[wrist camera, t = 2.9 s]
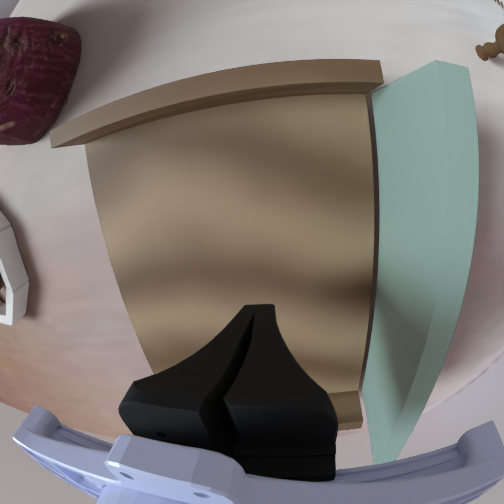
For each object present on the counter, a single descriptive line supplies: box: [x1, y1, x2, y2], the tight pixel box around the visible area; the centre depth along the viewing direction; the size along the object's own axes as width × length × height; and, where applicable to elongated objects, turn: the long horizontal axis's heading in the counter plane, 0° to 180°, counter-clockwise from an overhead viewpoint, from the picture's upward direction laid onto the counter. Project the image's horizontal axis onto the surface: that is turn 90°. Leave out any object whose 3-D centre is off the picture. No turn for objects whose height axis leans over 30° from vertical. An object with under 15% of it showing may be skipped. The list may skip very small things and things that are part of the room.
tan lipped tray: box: [50, 59, 384, 431], centre depth 15 cm, size 22×16×4 cm
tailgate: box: [362, 60, 479, 465], centre depth 11 cm, size 20×1×7 cm, turn 7°
